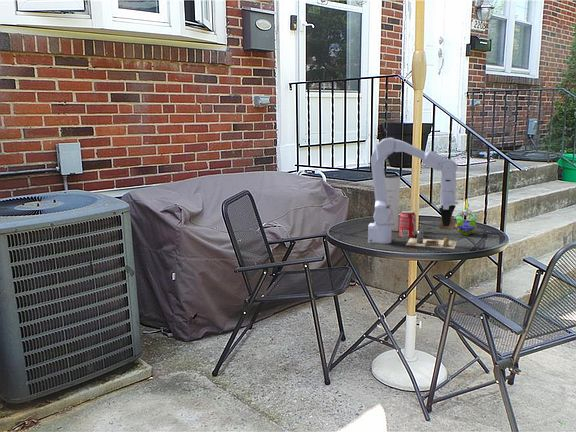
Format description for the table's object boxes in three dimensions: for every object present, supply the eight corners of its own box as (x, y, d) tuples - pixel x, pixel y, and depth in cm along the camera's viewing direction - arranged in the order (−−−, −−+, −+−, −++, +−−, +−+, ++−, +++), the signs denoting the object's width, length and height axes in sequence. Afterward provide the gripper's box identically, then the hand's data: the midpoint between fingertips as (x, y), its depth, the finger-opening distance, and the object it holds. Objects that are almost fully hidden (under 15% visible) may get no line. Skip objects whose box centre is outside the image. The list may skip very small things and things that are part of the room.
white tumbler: (397, 228, 246) (398, 174, 242) (400, 233, 236) (401, 176, 231) (375, 228, 247) (375, 174, 243) (376, 233, 237) (377, 176, 232)
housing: (439, 229, 205) (440, 217, 204) (440, 226, 210) (441, 215, 209) (452, 229, 203) (453, 218, 202) (453, 227, 208) (454, 216, 207)
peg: (416, 243, 212) (416, 231, 212) (417, 242, 215) (417, 230, 214) (422, 243, 212) (422, 231, 211) (423, 242, 214) (423, 230, 213)
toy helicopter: (455, 229, 243) (456, 198, 241) (475, 230, 241) (477, 199, 238) (454, 241, 220) (455, 207, 217) (476, 242, 217) (478, 208, 215)
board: (405, 247, 210) (405, 237, 209) (410, 240, 222) (410, 231, 222) (454, 251, 203) (454, 241, 202) (456, 243, 216) (457, 233, 215)
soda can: (412, 236, 230) (413, 209, 228) (417, 240, 223) (418, 212, 221) (397, 236, 230) (397, 210, 228) (401, 240, 223) (401, 213, 221)
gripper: (457, 193, 195) (455, 228, 198) (460, 188, 209) (458, 221, 211) (438, 192, 198) (436, 227, 201) (441, 188, 211) (440, 220, 214)
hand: (446, 224), depth 206 cm, fingers closed on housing, 5 cm apart
